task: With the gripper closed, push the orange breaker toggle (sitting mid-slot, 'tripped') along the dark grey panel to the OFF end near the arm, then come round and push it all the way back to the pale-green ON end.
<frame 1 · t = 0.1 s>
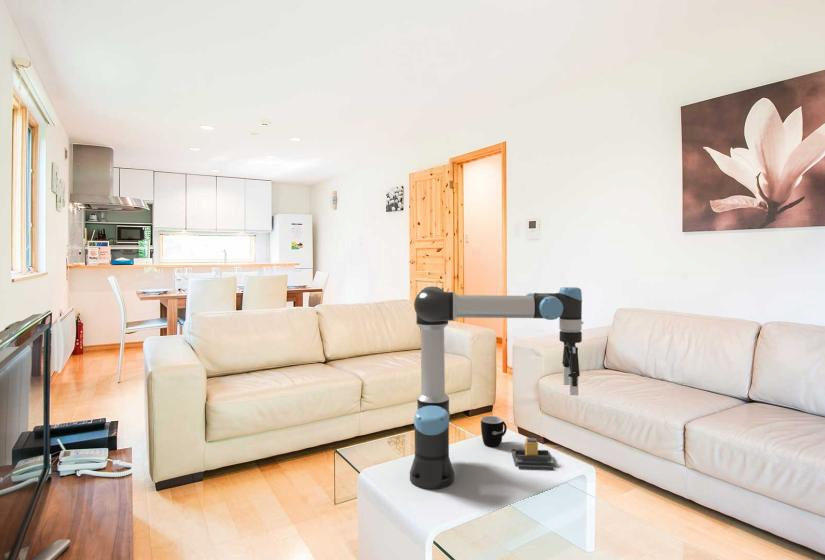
hand: (570, 389, 169), 28 cm above the table, fingers open, 13 cm apart
cord front: (535, 468, 168), on the table
toggle: (531, 448, 174), point 5 cm above the table, slide at 3.0 cm, touching panel
panel: (532, 460, 174), on the table
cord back: (527, 452, 182), on the table
mug: (495, 444, 192), on the table
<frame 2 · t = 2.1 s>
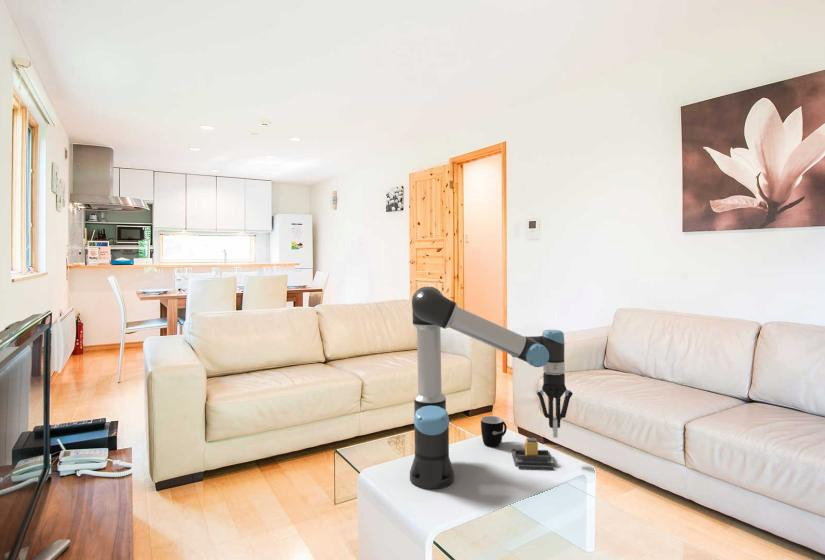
hand: (554, 436, 173), 9 cm above the table, fingers closed
nothing on the table moved.
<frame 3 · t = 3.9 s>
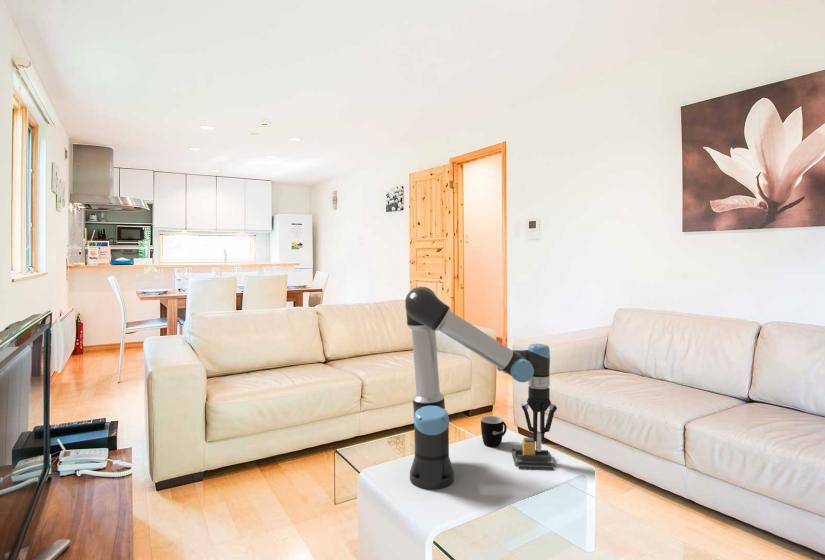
hand: (538, 449, 174), 4 cm above the table, fingers closed
toggle: (528, 448, 174), point 5 cm above the table, slide at 2.0 cm, touching gripper, panel
everything else where it was.
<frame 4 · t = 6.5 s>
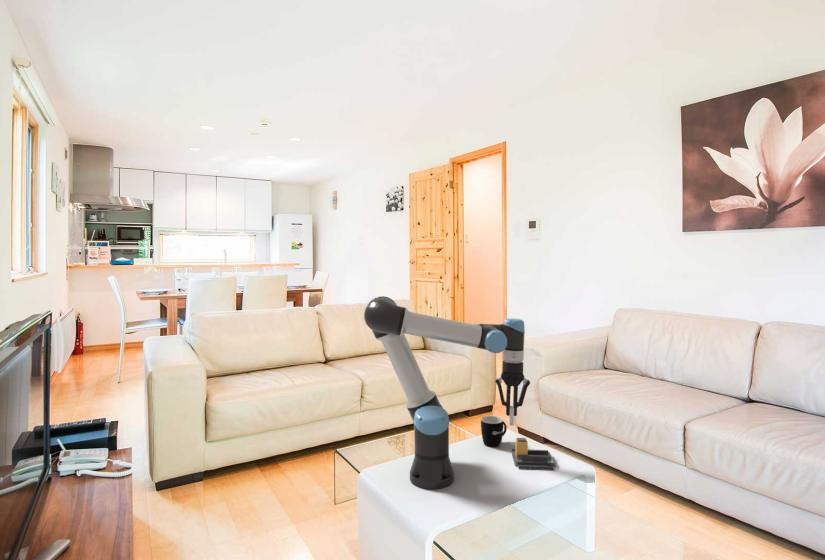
hand: (511, 424, 175), 14 cm above the table, fingers closed
toggle: (521, 447, 175), point 5 cm above the table, slide at -0.6 cm, touching panel
everything else where it was.
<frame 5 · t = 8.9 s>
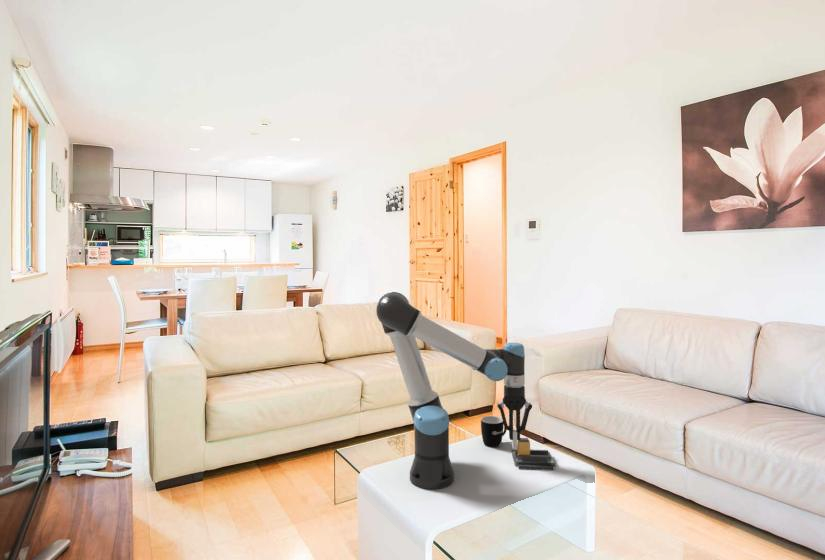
hand: (514, 448, 175), 5 cm above the table, fingers closed
toggle: (523, 447, 175), point 5 cm above the table, slide at 0.2 cm, touching gripper, panel
everything else where it was.
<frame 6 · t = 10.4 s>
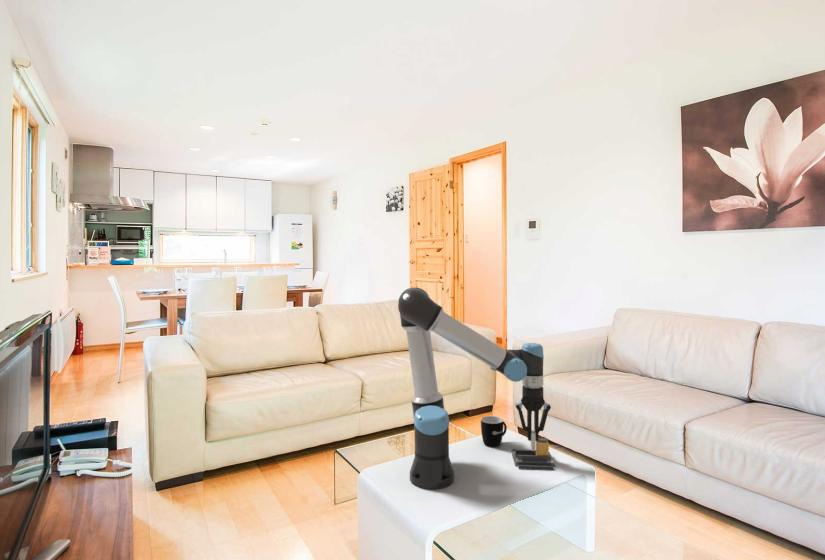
hand: (532, 448, 174), 4 cm above the table, fingers closed
toggle: (542, 448, 174), point 5 cm above the table, slide at 6.9 cm, touching gripper, panel
everything else where it was.
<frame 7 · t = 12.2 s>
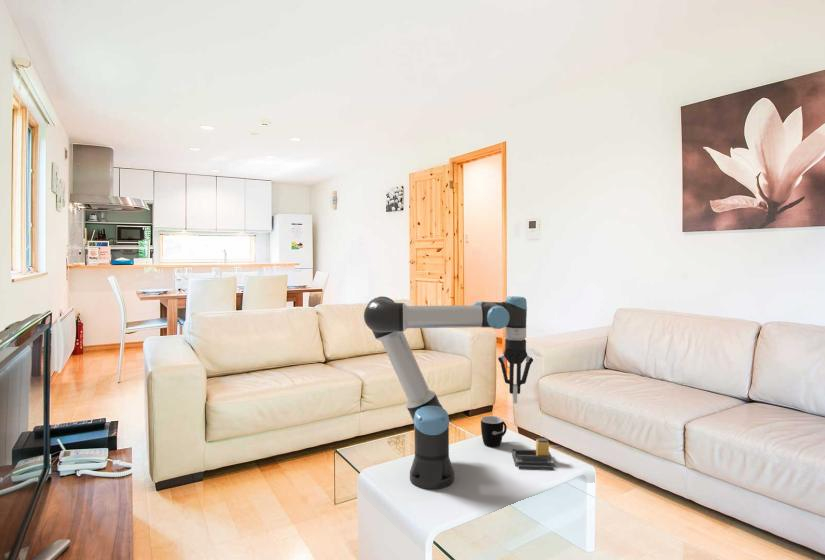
hand: (514, 402, 174), 22 cm above the table, fingers closed
toggle: (542, 448, 174), point 5 cm above the table, slide at 6.9 cm, touching panel
everything else where it was.
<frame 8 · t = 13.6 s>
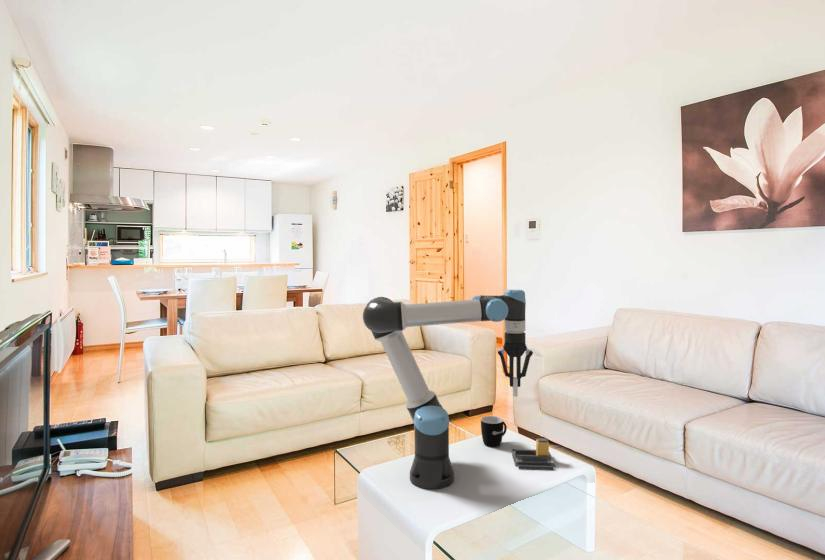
hand: (514, 395, 174), 24 cm above the table, fingers closed
nothing on the table moved.
at the end: toggle slide at 6.9 cm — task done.
